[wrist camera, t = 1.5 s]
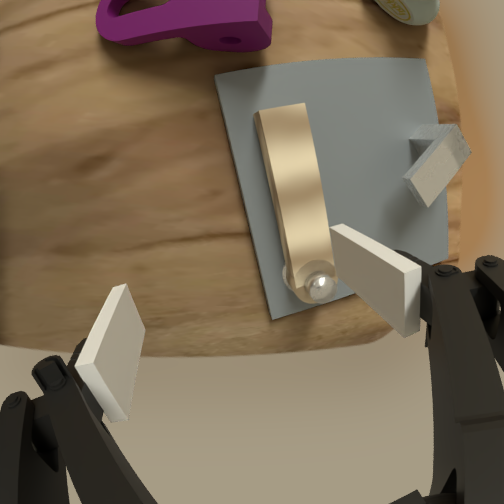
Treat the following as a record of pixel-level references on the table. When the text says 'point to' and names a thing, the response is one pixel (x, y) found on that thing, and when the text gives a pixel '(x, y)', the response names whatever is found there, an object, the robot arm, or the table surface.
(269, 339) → the table surface
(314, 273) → the cylinder
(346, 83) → the slate board
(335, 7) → the table surface
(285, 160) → the brass bar
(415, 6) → the air freshener
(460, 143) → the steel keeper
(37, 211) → the table surface
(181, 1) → the mounting bracket
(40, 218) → the table surface
